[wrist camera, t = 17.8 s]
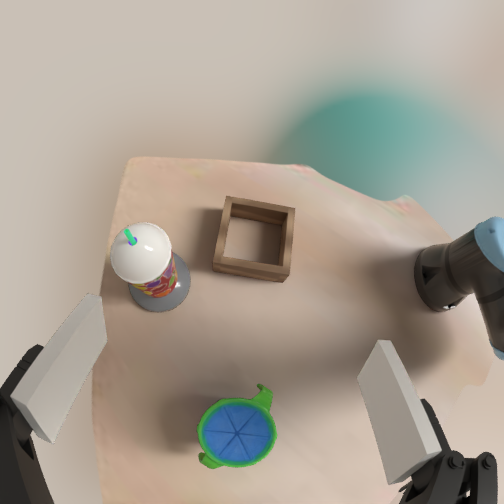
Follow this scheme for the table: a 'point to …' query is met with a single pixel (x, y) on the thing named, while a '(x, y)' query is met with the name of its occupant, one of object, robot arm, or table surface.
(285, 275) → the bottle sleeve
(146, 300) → the slate coaster
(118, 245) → the smoothie
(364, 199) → the table surface
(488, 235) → the robot arm
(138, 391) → the table surface
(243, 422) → the snack cup
